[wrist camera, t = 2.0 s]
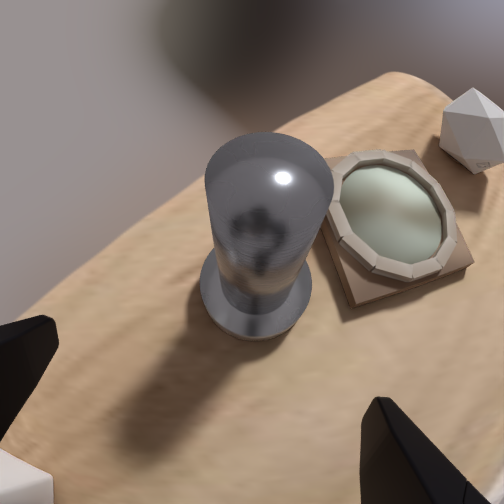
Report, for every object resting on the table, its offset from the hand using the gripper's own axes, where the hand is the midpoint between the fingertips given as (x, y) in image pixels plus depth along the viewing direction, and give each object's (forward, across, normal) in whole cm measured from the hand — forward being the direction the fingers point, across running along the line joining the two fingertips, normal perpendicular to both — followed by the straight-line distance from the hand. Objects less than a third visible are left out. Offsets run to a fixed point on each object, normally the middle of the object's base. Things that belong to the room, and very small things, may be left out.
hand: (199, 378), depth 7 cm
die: (+28, -20, -10) cm, 35 cm away
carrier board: (+19, -10, -2) cm, 22 cm away
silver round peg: (+14, 0, +4) cm, 14 cm away
